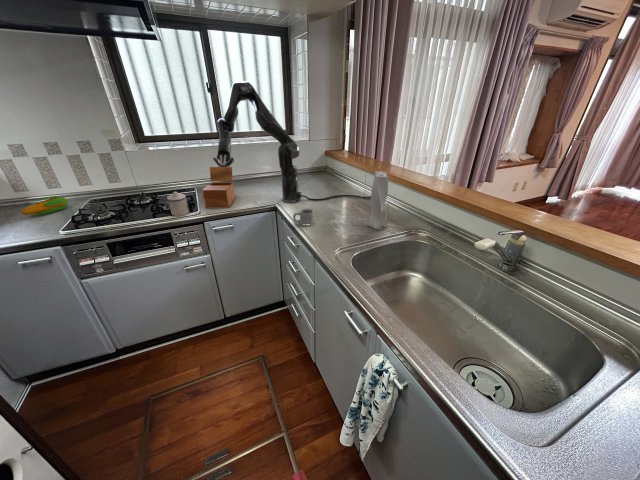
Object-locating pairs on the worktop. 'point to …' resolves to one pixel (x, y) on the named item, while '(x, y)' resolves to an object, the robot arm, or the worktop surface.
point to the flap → (221, 174)
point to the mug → (305, 217)
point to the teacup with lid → (178, 204)
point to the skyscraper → (379, 201)
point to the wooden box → (218, 195)
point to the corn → (46, 206)
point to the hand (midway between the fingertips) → (223, 172)
